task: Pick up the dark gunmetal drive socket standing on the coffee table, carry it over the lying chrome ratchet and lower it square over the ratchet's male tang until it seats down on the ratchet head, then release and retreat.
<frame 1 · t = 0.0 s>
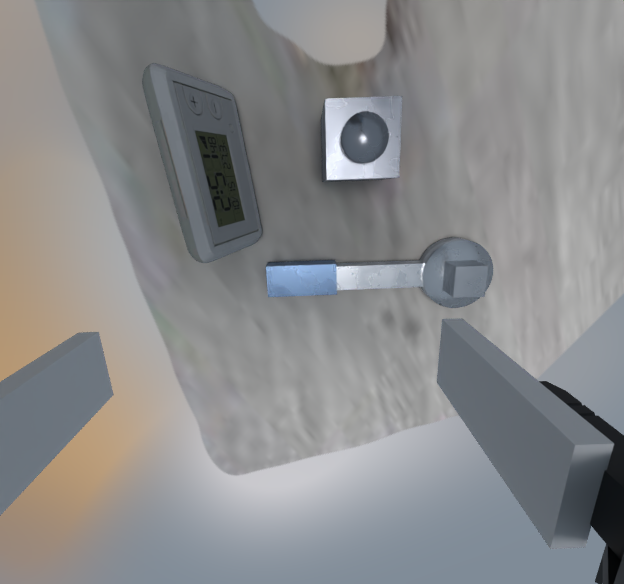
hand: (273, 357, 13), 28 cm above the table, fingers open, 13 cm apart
socket: (351, 149, 37), on the table
digital clock: (226, 173, 38), on the table
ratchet: (449, 270, 41), on the table
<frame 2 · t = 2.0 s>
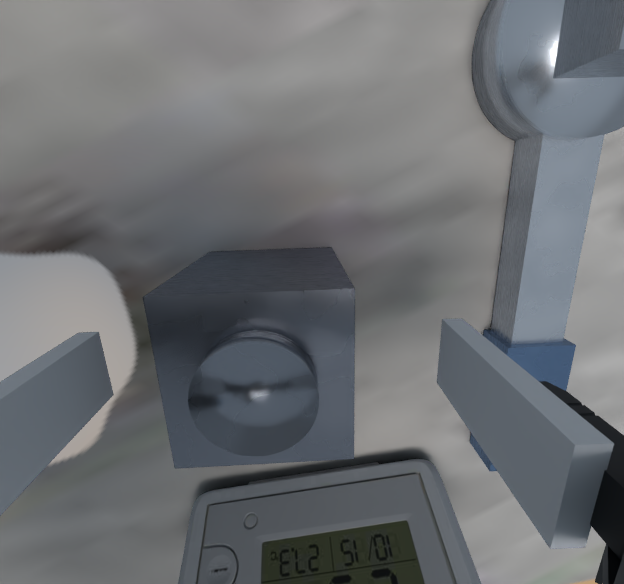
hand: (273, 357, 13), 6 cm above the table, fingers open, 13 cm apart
socket: (274, 306, 19), on the table
digital clock: (317, 493, 23), on the table
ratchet: (556, 53, 16), on the table
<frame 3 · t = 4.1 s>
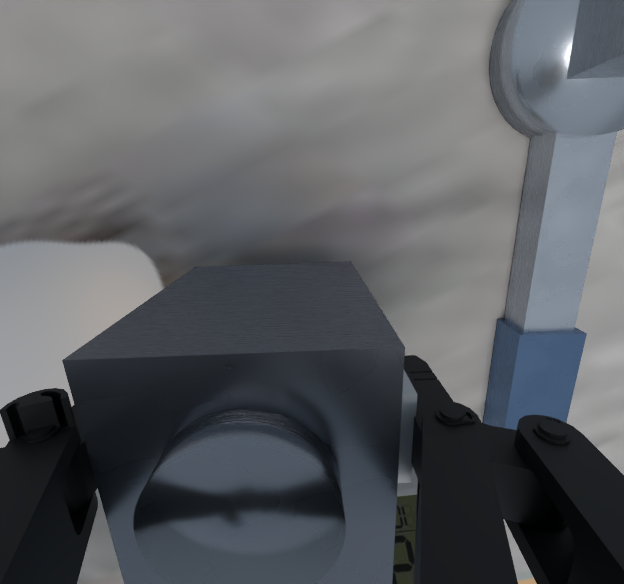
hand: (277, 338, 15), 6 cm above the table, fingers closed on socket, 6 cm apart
socket: (277, 335, 15), point 6 cm above the table, touching gripper
digital clock: (336, 469, 25), on the table
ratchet: (571, 54, 17), on the table
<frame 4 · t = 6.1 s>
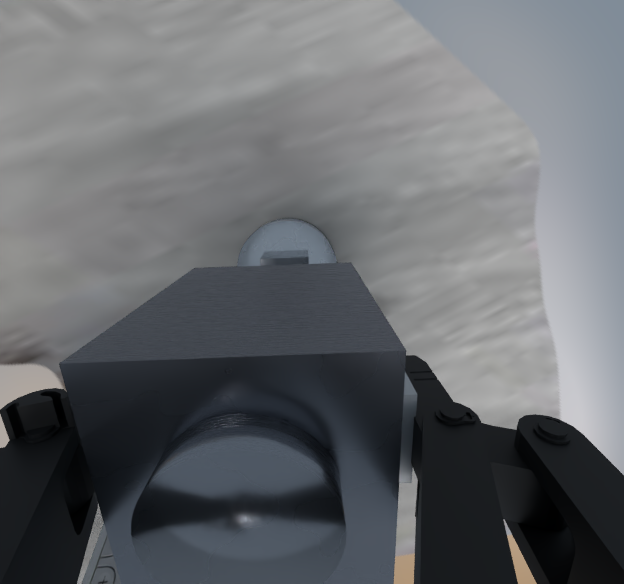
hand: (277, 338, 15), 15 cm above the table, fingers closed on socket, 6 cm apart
socket: (277, 336, 15), point 15 cm above the table, touching gripper
digital clock: (193, 497, 37), on the table
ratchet: (288, 265, 29), on the table
when the fingers open (3 cm above the table, at t = 8.2 s): socket stays where it is, resting on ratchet.
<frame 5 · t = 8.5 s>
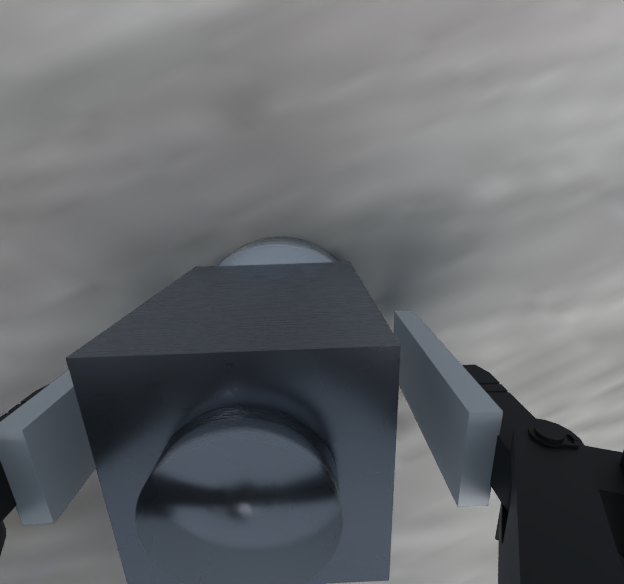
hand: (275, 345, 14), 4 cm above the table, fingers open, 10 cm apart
socket: (277, 334, 15), point 2 cm above the table, touching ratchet
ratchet: (281, 314, 18), on the table
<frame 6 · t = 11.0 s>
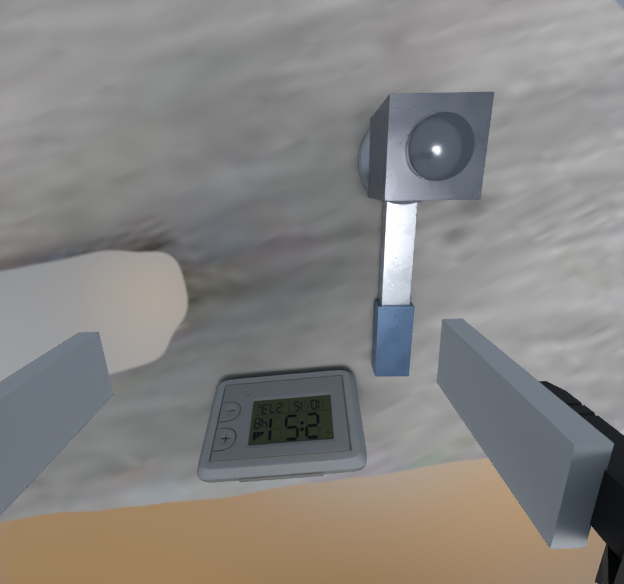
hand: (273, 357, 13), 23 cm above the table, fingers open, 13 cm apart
socket: (405, 158, 30), point 2 cm above the table, touching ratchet
digital clock: (287, 389, 40), on the table
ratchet: (399, 160, 32), on the table
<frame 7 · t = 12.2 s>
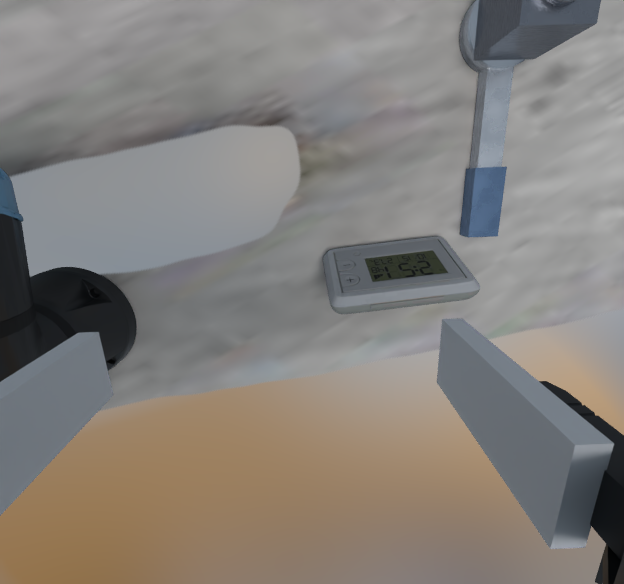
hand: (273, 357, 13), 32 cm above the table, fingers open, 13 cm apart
socket: (508, 23, 35), point 2 cm above the table, touching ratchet
digital clock: (383, 262, 45), on the table
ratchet: (495, 33, 37), on the table
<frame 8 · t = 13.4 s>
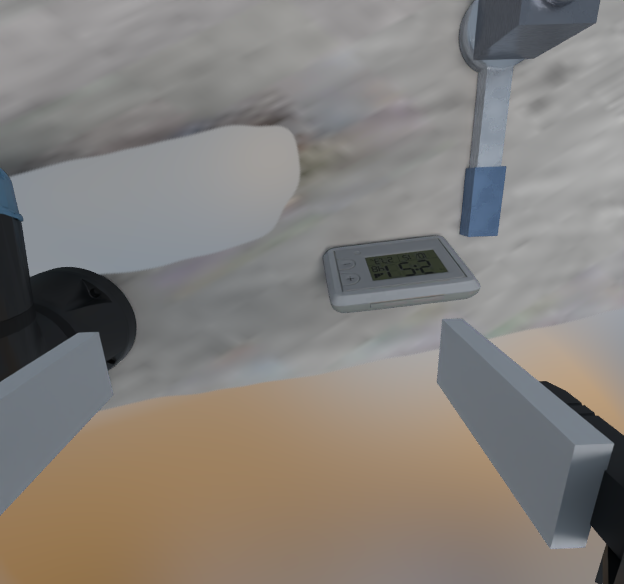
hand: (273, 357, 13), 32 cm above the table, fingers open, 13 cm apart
socket: (507, 23, 35), point 2 cm above the table, touching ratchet
digital clock: (383, 261, 45), on the table
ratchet: (495, 33, 37), on the table
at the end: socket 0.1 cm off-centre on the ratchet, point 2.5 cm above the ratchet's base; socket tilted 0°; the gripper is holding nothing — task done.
